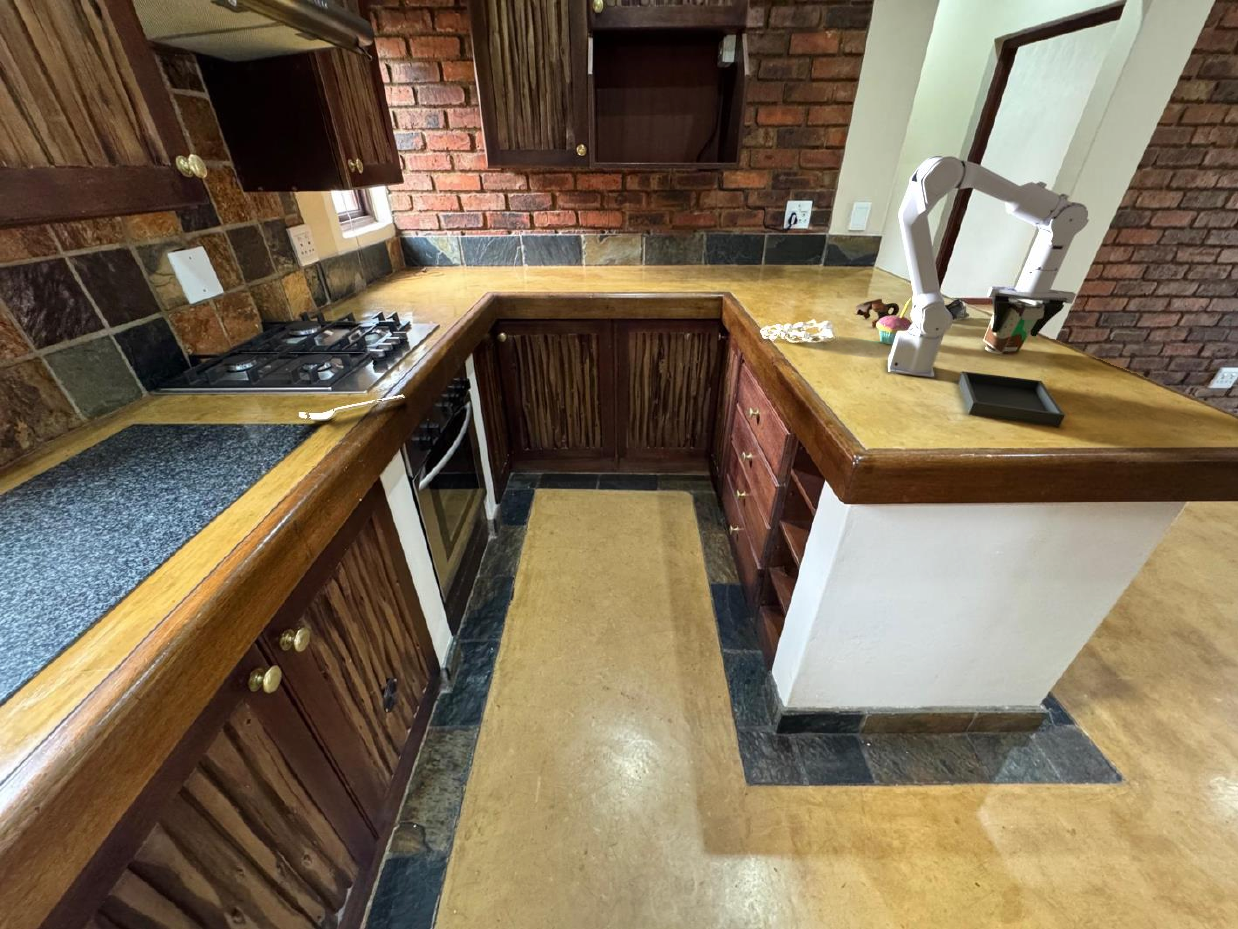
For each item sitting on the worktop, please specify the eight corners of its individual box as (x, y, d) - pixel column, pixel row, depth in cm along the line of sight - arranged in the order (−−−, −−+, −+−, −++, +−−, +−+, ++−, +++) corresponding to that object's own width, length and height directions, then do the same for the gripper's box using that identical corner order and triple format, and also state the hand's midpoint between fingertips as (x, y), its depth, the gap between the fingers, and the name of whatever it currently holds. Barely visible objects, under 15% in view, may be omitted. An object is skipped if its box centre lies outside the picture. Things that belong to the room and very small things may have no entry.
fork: (406, 401, 106) (404, 393, 105) (302, 425, 97) (299, 417, 96) (403, 396, 108) (401, 388, 107) (301, 419, 99) (298, 411, 98)
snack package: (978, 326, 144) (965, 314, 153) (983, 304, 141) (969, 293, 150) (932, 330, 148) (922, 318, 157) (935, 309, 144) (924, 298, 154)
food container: (1036, 359, 103) (1060, 311, 97) (1004, 356, 104) (1026, 309, 98) (1009, 340, 113) (1029, 296, 108) (980, 338, 114) (999, 294, 108)
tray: (968, 414, 96) (973, 402, 95) (957, 381, 110) (961, 371, 108) (1059, 427, 91) (1065, 415, 90) (1036, 391, 104) (1041, 380, 103)
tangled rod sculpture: (758, 348, 134) (760, 334, 131) (761, 328, 145) (763, 315, 142) (834, 352, 129) (837, 337, 126) (831, 331, 140) (834, 317, 137)
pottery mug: (863, 330, 143) (858, 302, 143) (853, 335, 152) (848, 309, 152) (906, 320, 141) (901, 291, 140) (893, 325, 150) (888, 299, 150)
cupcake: (908, 340, 134) (922, 295, 128) (904, 349, 128) (919, 302, 122) (874, 335, 138) (886, 291, 132) (869, 343, 132) (881, 298, 126)
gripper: (1079, 266, 100) (1049, 331, 107) (996, 262, 105) (972, 324, 112) (1091, 273, 94) (1058, 341, 102) (1002, 268, 99) (977, 333, 107)
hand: (1013, 333), depth 107 cm, fingers closed on food container, 6 cm apart
